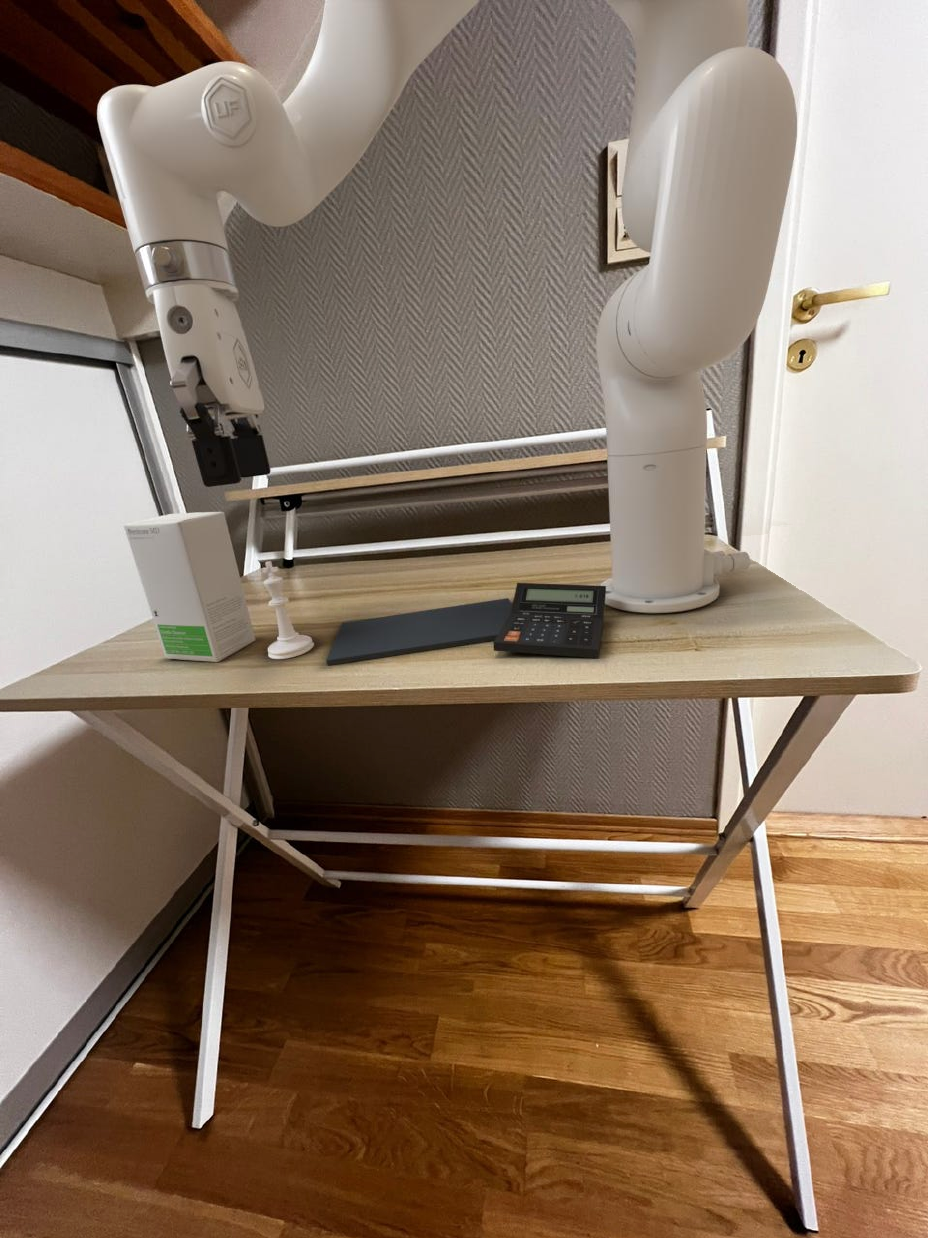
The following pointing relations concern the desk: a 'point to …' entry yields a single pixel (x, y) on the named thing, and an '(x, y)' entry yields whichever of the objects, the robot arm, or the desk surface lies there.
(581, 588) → the calculator
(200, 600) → the cosmetic box
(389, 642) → the desk mat
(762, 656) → the desk surface
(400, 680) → the desk surface
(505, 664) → the desk surface
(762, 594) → the desk surface
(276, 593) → the chess piece
